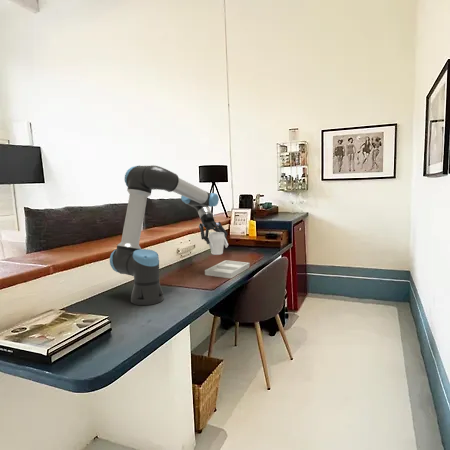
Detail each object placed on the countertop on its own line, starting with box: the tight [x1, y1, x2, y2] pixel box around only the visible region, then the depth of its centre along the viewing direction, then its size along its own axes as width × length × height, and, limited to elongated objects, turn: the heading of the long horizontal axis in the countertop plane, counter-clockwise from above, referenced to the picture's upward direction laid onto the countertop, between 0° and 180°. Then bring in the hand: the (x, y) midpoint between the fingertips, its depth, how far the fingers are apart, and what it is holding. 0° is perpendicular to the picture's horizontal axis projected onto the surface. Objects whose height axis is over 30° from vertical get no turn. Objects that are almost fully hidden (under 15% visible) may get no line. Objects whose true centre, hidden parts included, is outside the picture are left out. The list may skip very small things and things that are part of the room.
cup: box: [208, 231, 225, 256], centre depth 203 cm, size 9×9×12 cm
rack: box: [204, 259, 250, 279], centre depth 219 cm, size 28×17×3 cm, turn 154°
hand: (219, 247), depth 201 cm, fingers closed on cup, 9 cm apart
